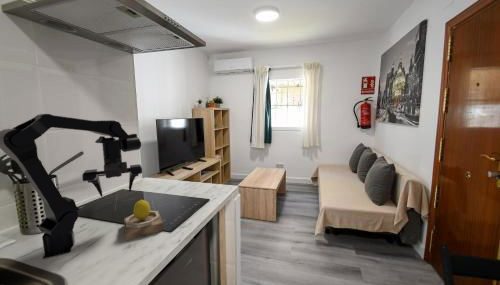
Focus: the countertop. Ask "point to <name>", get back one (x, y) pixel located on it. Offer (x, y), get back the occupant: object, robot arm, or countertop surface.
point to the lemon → (141, 209)
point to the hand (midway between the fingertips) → (116, 193)
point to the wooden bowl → (142, 225)
